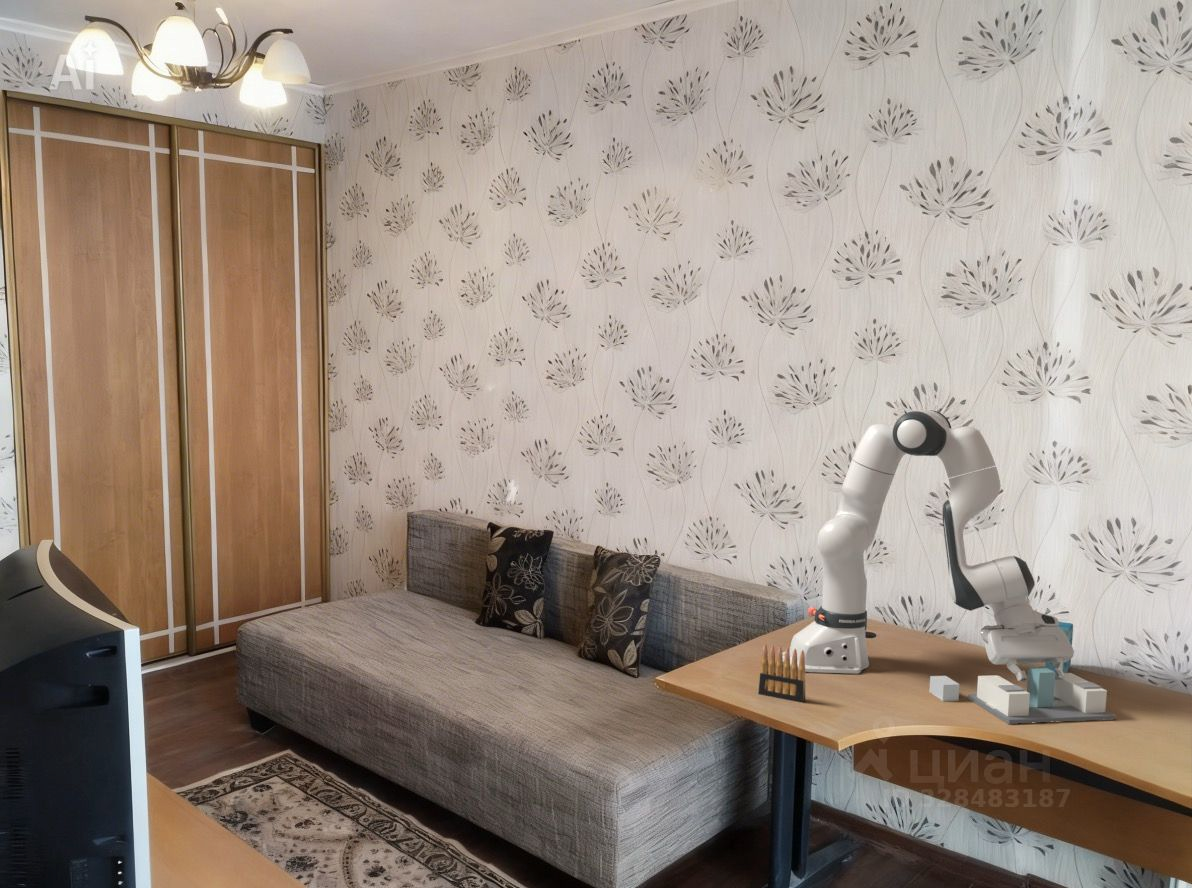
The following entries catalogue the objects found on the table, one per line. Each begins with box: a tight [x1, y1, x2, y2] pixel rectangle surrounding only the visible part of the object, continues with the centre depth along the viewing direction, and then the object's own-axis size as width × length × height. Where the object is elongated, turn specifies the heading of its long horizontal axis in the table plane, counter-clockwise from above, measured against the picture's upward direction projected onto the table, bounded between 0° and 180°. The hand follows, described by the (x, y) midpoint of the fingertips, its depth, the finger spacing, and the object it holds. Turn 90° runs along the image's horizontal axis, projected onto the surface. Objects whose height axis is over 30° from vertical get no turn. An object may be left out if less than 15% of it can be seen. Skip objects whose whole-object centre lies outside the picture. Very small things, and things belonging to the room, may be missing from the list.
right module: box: [1054, 672, 1108, 713], centre depth 213 cm, size 5×12×5 cm, turn 9°
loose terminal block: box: [928, 675, 960, 702], centre depth 218 cm, size 4×6×4 cm, turn 10°
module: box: [1026, 666, 1056, 707], centre depth 211 cm, size 4×4×8 cm
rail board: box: [967, 693, 1116, 725], centre depth 212 cm, size 26×16×1 cm, turn 100°
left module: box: [976, 675, 1030, 716], centre depth 210 cm, size 5×12×5 cm, turn 10°
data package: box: [1044, 621, 1074, 673], centre depth 238 cm, size 12×4×12 cm, turn 146°
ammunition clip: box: [757, 643, 806, 703], centre depth 214 cm, size 11×2×12 cm, turn 62°
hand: (1041, 679), depth 211 cm, fingers open, 8 cm apart
